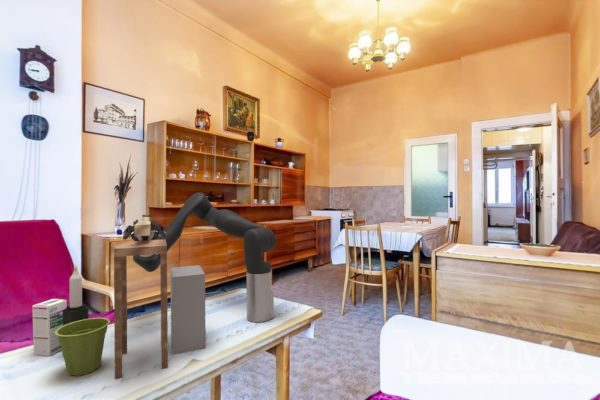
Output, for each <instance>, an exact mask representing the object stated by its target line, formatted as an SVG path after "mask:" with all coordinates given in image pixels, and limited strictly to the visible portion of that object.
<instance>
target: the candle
mask: <svg viewBox="0 0 600 400" xmlns="http://www.w3.org/2000/svg"><path fill="white" fill-rule="evenodd" d="M89 314H90V311H89V305H88V306H87V305H86V303H83V277H82V275H81V274H80V272H79V270H78V266H76V265H75V266H74V267H73V272H72V274H71V276H70V277H69V305H67V307H66V309H64V310H63V326H64V325H66V324H69V323H72V322H75V321H79V320H83V319H90V318H89V317H90V315H89Z"/></svg>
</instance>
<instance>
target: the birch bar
mask: <svg viewBox="0 0 600 400" xmlns="http://www.w3.org/2000/svg"><path fill="white" fill-rule="evenodd" d="M134 229H135V236H150V232H151V226H150V220H149V221H148V220H147V221H142V220H141V221H138V223H137V224H135V225H134Z"/></svg>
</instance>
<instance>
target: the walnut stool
mask: <svg viewBox="0 0 600 400" xmlns="http://www.w3.org/2000/svg"><path fill="white" fill-rule="evenodd" d="M149 254H156V255H157V254H160V265H159V267H160V271H159V273H160V347H161V349H160V350H161V352H160V353H161V370H162V369H168V368H169V354H168V353H169V349H168V343H169V342H168V341H169V339H168V338H169V337H168V333H169V332H168V331H169V330H168V327H169V325H168V322H169V321H168V251H167V244H166V239H163V240H145V241H134V240H130V241H119V243H118V244H117V245H116V246H115V247H114V248H113V290H114V291H113V293H114V294H113V295H114V296H113V304H114V305H113V306H114V307H113V308H114V309H113V310H114V312H113V313H114V315H113V317H114V329H113V331H114V379H115V380H118V379H122V378H123V374H124V373H123V355H126V354H128V297H127V296H128V291H127V290H128V280H127V279H128V275H127V273H128V269H127V267H128V265H127V264H128V263H127V257H133V256H135V255H149Z"/></svg>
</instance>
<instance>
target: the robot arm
mask: <svg viewBox="0 0 600 400" xmlns="http://www.w3.org/2000/svg"><path fill="white" fill-rule="evenodd" d="M190 214H193V216H194V217H195V218H196V219H198V220H200V221H202V222H206V223H209V224H210V225H211V226H212V227H214V228H216V229H217V230H218V231H220V232H222V233H224V234H226V235H227V236H231V237H235V238H241V239H243V256H244V257H243V258H244V265H245V268H246V320H247V321H248V322H253V323H263V322H268V321H270V320H272V319H274V318H275V316H274V315H275V314H274V313H275V312H274V311H275V307H274V306H275V305H274V301H275V300H274V299H275V298H274V296H275V294H274V292H273V290H272V287H273V286H272V284H273V283H272V282H273V281H272V277H273V276H272V263H270V262H268V261H266V260H263V259H264V258H263V253H267V252H271V251H272V250H274V248H275V247H276V246H277V236H276V234H275V232H274V231H273V230H271V229H270V228H268V227H266V226H263V225H260V224H256V223H255V222H252V221H250V220H248V219H247V218H245V217H244V216H241V215H239V214H237V213H235V211H234V212H233V211H232V210H229V209H225V208H224V209H217V208H216V207H215V206H213V204H212V203H211V201H210V200H209V199H208V197H207V195H206V194H205V193H204V192H200V191H199V192H195V193H194V194H192V195H190V197H189V198H188V199H186V201H185V202H184V204H183V205H182V206H181V208H180V209H179V211H178V212H177V214H175V216H174V218H173V219H172V220H171V221H170V223H169V224H168V225H167V226H166V227H164V226H163V225H162V224H160V223H159V224H157V225H156V220H153V219H151V218H150V219H149V221H150V226H151V232H150V236H135V229H134V225H135V224H137V223H138V222H139V220H138V219H135V221H133V225H127V227H125V229H124V231H123V232H122V240H124V241H126V240H128V239H131V241H145V240H163V239H166V244H167V252H168V251H169V250H170V249H171V248H172V247H173V246H174V244H175V243H176V242H178V240H179V239H180V237H181V236H182V234H183V230H184V229H185V228H184V227H185V224H186V221H187V219H188V218H189V216H190ZM132 260H133V262H134V263H135V264H136V265H138V266H139V267H141V268H142V269H144V270H145V271H146V272H148V273H152V272H155V271H156V270H158V269H159V267H160V254H149V255H135V256H132Z"/></svg>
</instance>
